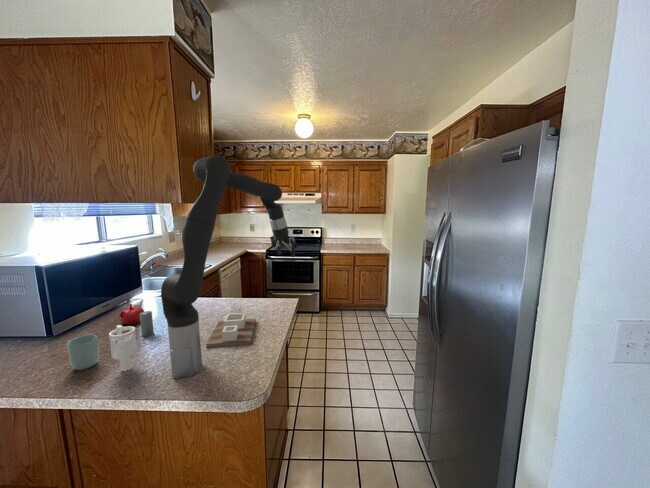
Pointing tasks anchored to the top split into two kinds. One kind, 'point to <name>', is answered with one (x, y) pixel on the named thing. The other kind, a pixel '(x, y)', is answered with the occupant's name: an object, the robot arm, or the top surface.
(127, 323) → the pomegranate
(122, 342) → the white tall rounded piece
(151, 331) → the capsule
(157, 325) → the top surface
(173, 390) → the top surface
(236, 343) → the board
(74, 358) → the cup
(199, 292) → the robot arm
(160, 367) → the top surface
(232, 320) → the socket fittings
